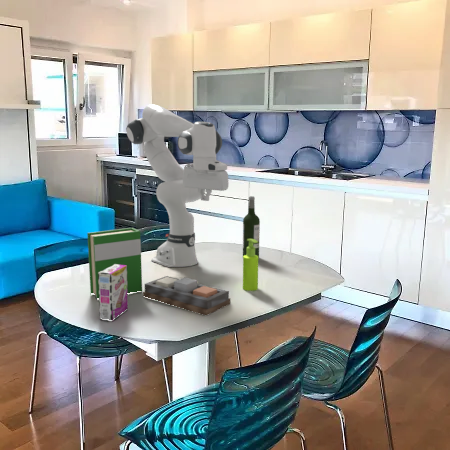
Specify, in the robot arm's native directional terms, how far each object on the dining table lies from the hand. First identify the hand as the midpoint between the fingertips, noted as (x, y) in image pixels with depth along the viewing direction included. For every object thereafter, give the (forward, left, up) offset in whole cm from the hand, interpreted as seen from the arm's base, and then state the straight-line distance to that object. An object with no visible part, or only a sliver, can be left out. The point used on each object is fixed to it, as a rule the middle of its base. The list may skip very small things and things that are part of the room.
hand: (205, 200), depth 190 cm
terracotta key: (+15, -19, -32) cm, 40 cm away
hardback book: (-20, -29, -34) cm, 49 cm away
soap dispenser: (+18, +6, -34) cm, 39 cm away
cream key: (-3, -19, -32) cm, 37 cm away
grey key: (+6, -19, -30) cm, 36 cm away
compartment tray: (+6, -19, -34) cm, 39 cm away
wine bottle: (-7, +44, -34) cm, 56 cm away
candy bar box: (-4, -44, -34) cm, 56 cm away
